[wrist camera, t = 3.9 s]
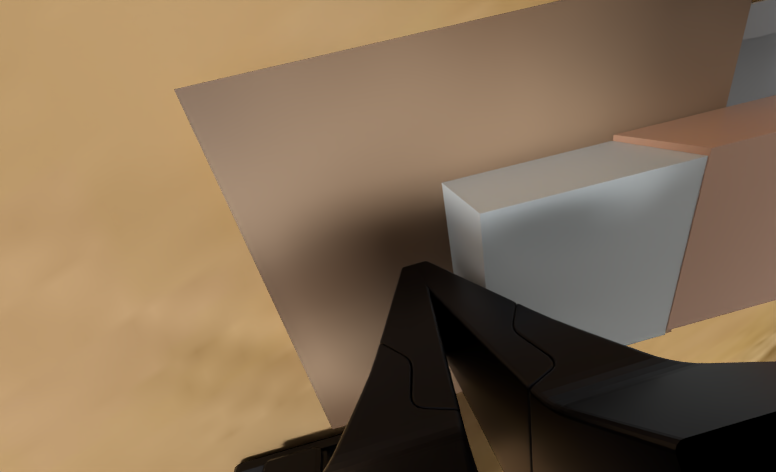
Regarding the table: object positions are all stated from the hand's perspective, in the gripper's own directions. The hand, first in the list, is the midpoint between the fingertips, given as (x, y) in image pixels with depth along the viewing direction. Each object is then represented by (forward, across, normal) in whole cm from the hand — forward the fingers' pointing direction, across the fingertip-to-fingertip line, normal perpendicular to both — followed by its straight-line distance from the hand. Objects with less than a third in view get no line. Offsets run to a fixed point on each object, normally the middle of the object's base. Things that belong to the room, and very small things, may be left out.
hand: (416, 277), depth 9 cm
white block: (+1, -4, 0) cm, 4 cm away
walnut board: (+3, -3, 0) cm, 4 cm away
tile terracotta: (0, -9, 0) cm, 9 cm away
